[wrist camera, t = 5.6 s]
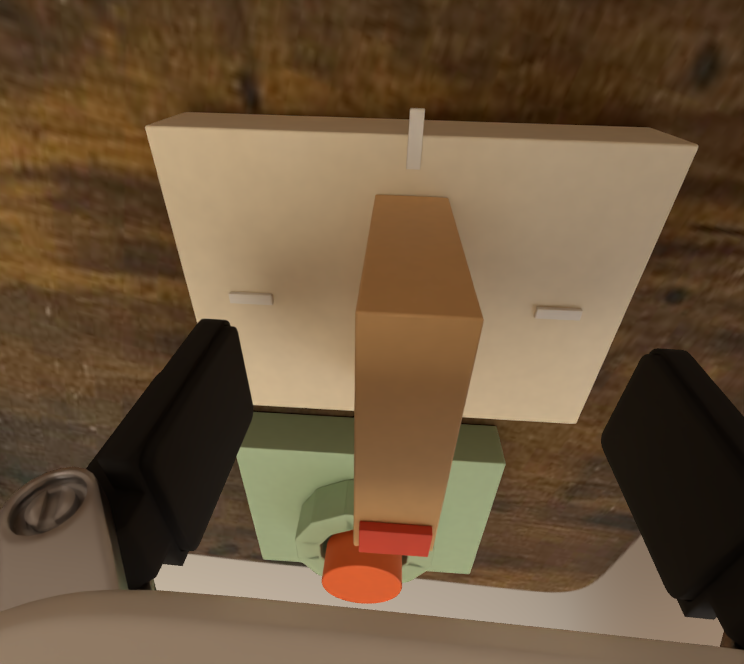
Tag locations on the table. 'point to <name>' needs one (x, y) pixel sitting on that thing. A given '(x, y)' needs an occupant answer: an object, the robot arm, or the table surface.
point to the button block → (336, 490)
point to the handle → (410, 371)
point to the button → (360, 572)
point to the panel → (475, 227)
